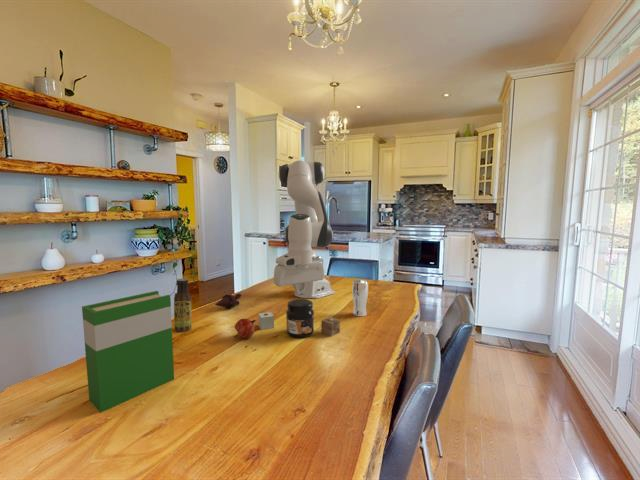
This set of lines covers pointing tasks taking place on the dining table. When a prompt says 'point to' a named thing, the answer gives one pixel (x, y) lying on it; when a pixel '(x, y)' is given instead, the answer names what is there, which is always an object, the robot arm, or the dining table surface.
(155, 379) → the hardback book
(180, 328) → the sauce bottle
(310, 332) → the supplement container
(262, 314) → the sage cube
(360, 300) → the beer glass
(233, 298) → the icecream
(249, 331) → the pomegranate
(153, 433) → the dining table surface
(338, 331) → the walnut cube
